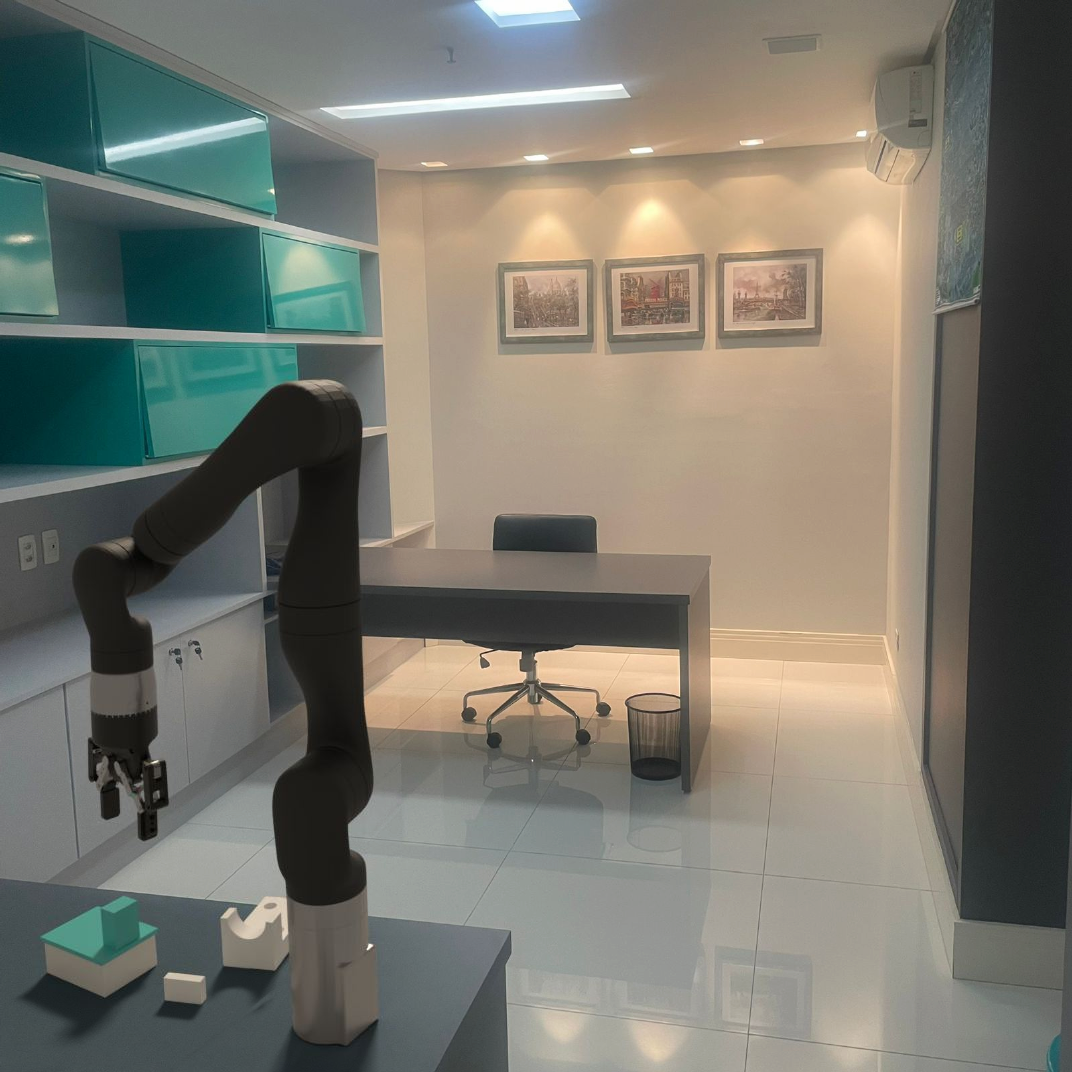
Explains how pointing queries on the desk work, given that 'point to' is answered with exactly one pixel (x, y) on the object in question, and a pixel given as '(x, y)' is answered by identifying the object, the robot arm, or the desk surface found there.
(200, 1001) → the eraser
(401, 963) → the desk surface
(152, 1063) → the desk surface
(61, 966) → the tub
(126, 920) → the lid
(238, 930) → the bracket
